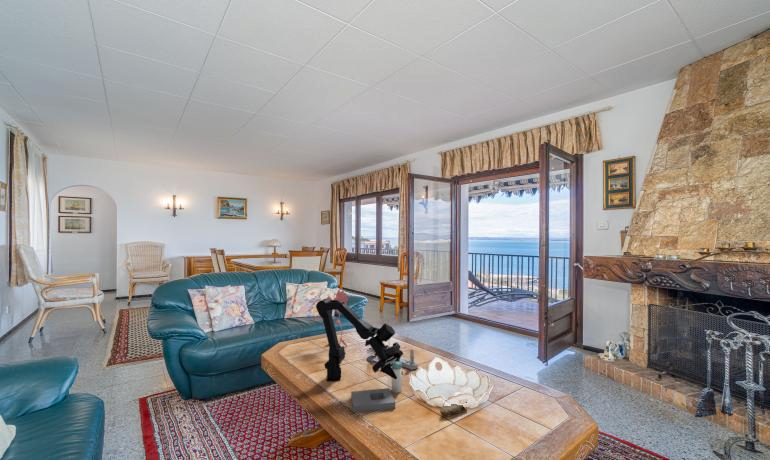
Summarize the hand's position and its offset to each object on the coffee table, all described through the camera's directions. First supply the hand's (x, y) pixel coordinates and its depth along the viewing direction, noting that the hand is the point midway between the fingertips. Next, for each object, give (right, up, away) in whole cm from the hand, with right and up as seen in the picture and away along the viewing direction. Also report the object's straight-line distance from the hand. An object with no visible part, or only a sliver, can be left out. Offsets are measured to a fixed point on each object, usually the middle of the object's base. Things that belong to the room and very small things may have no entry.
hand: (399, 376), depth 158 cm
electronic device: (+5, -7, +31) cm, 32 cm away
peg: (-1, -7, +1) cm, 7 cm away
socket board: (-12, -7, -10) cm, 17 cm away
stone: (+20, -7, -18) cm, 28 cm away
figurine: (-34, -7, +65) cm, 74 cm away
